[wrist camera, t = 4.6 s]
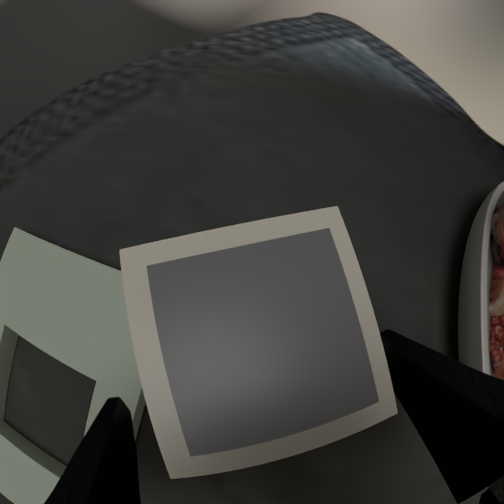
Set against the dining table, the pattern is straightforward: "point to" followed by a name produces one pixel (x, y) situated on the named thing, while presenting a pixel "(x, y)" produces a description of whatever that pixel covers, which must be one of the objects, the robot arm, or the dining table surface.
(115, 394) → the board
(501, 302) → the bowl
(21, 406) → the dining table surface
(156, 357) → the grey tall block
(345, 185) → the dining table surface
